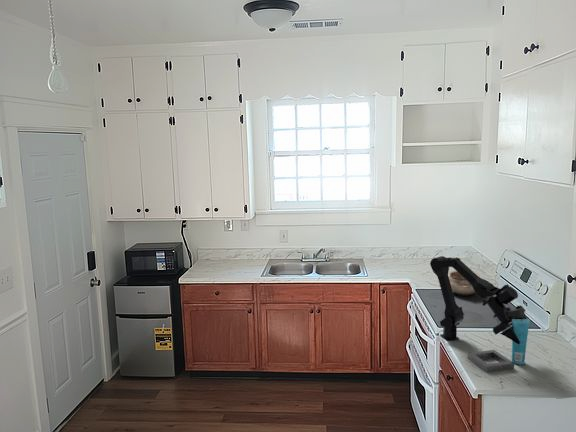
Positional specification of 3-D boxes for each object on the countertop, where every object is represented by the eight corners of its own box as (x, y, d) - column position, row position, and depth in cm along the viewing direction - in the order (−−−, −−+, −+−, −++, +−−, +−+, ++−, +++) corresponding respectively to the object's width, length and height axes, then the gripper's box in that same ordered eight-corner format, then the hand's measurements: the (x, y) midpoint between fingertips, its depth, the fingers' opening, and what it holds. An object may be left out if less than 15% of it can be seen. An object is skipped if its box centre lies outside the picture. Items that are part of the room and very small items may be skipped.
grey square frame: (467, 358, 209) (467, 353, 209) (493, 355, 212) (494, 349, 212) (486, 372, 197) (486, 366, 196) (513, 368, 200) (514, 363, 199)
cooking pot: (484, 301, 280) (485, 281, 278) (450, 300, 283) (451, 280, 281) (474, 288, 304) (475, 269, 302) (443, 287, 307) (444, 268, 305)
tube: (522, 359, 208) (526, 316, 205) (529, 364, 203) (533, 321, 200) (506, 359, 207) (509, 317, 204) (512, 365, 203) (516, 321, 199)
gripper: (501, 305, 198) (526, 339, 192) (524, 295, 210) (548, 327, 203) (482, 317, 206) (505, 351, 199) (505, 307, 217) (527, 339, 211)
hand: (522, 341), depth 203 cm, fingers closed on tube, 5 cm apart
